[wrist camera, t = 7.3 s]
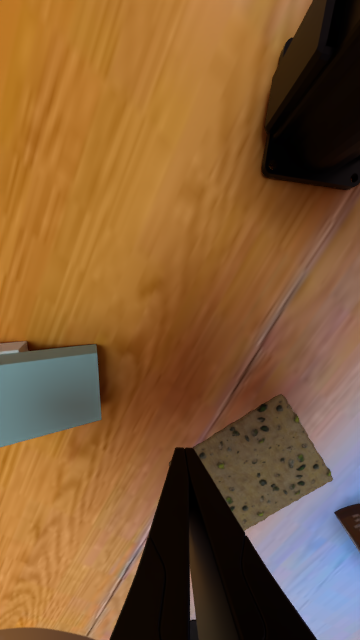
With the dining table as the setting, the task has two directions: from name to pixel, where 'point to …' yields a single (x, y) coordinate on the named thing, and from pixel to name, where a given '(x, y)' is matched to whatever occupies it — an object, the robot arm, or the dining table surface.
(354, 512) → the food container
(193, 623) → the travel mug
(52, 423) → the domino
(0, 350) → the domino
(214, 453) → the speckled square tile
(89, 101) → the dining table surface
